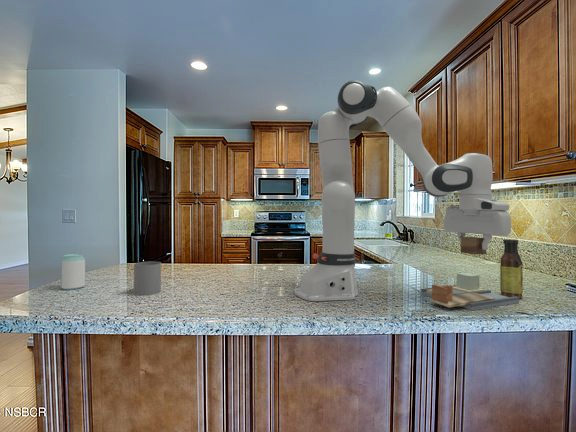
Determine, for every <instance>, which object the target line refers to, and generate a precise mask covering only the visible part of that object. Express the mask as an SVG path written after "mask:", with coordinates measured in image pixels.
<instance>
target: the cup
mask: <svg viewBox="0 0 576 432" xmlns="http://www.w3.org/2000/svg"><path fill="white" fill-rule="evenodd" d="M161 289H162V262H161V261H151V260H149V261H141V262H134V264H133V294H134V295H135V296H141V297H142V296H152V295H157V294H159V293H161V291H162V290H161Z"/></svg>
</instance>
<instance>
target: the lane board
mask: <svg viewBox="0 0 576 432" xmlns="http://www.w3.org/2000/svg"><path fill="white" fill-rule="evenodd" d="M451 286H453V293H452V295H459V294H467V293H477V294H481V295H485V296H489V297H493V298H495V300H488V301H481V302H474V303H469V305H463V306H459V307H460V308H463V309H466V310H470V311H475V310H483V308H484V309H489V307H490V308H495V307H494V306H496V307H500V306H501V305H502V306H506V305H507V304H508V305H514V303H515V304H520V298H519V297H516V296H515V297H506V296H502V295H501V294H497V293H494V292H492V290H491V289H486V290H485V289H484V288H480V287H479V289H478V290H470V291H469V290H465V289H461V288H458V287H457V284H454V285H451ZM420 295H422V296H426V297H429V298H432V287H428V288H421V289H420ZM508 305H507V306H508Z"/></svg>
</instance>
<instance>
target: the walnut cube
mask: <svg viewBox="0 0 576 432" xmlns="http://www.w3.org/2000/svg"><path fill="white" fill-rule="evenodd" d="M484 239H485V238H483V237H477V236H476V237H475V236H464V237H461V246H460V253H463V254H470V255H487V250H488V249H487V250H483V249H479V243H482V242H483V240H484Z"/></svg>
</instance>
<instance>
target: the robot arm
mask: <svg viewBox="0 0 576 432" xmlns="http://www.w3.org/2000/svg"><path fill="white" fill-rule="evenodd" d="M369 117H370V118H372V119H375V120H376V121H377V122H378V124H379V125H380V127H382V129H383V131H385V133H386V134H387V135H388V136H389V138H390V139H391V140H392V141H393V142H395V143H396V145H397V146H398V147H399V148H400V149H401V151H403V152H404V154H405V155H406V157H407V158H408V159H409V162H411V164H412V166H414V168H415V169H416V171H417V172H418V174H419V175H420V177H421V178H420V179H421V181H422V186H423V190H424V191H425V193H427V194H428V195H429V196H431V197H435V198H442V197H445V196H448V195H449V194H453V193H459V198H458V199H459V200H458V204H450V205H448V207H446V209H445V216H444V220H443V230H444V232H446V233H447V232H450V233H456V236H457V238H458V240H459V243H460V244H459V246H460V247H461V237H466V234H475V235H482V238H485V239H484V240H483V242H482V243H479V249H483V250H488V245H489V243H490V241H491V240H492V239H493V236H498V237H508V236H509V235H510V234H511V231H512V220H511V214H510V213H509V212H508V211H509V210H510V204H509V203H507V202H503V201H500V200H496V199H493V193H492V192H493V191H492V184H493V180H494V179H493V178H494V174H493V173H494V172H493V162H492V161H493V160H492V158H491V157H490V156H489V155H487V154H485V153H481V152H467V153H464V154H463V155H462V156H460V157H459V158H457V159H455V160H452V161H449V162H446V163H443V164H440V165H438V164H437V163H436V161H435V160H434V158H433V157H432V155H431V154H430V153H429V151H428V150H427V148H426V147H425V145H424V143H423V139H422V138H423V137H422V130H423V129H422V128H423V123H422V121H421V118H420V116H419V114H418V113H417V111H416V110H415V108H414V107H413V106H412V105H411V104H410V102H409V101H408V100H407V99H406V98H405V97H404V96H403V95H402V94H401V92H399V91H397V89H395V88H394V87H392V86H384V87H381V88H379V89H378V90H377V89H376V87H375V86H373V85H369V84H367V83H366V82H363V81H362V80H357V79H352V80H349V81H347V82H345V83H344V84H343V85H342V86H341V88H340V89H339V91H338V94H337V107H336V108H335V109H333V110H330V111H327V112H325V113H323V114H322V115H321V116H320V117H319V120H318V123H317V124H318V126H317V144H318V146H317V147H318V157H319V167H320V175H321V180H322V187H323V188H322V189H323V190H322V193H321V220H322V221H321V222H322V251H321V252H320V254H319V253H315V252H314V253H313V255H312V258H313V259H315V260H317V263H316V264H315V265H313V266H311V268H309V270H308V271H306V272H305V273H304V274H302V278H301V280H300V286H299V287H296V288H294V290H293V291H294V292H293V293H294V295H295V296H297V297H298V298H300V299H303V300H305V301H309V302H325V301H326V302H327V301H346V300H347V301H348V300H349V301H352V300H355V299H356V297H357V296H358V295H359V290H358V287H357V282H356V276H355V266H356V253H355V220H356V219H355V217H356V216H355V215H356V211H355V210H356V208H355V207H356V193H355V187H354V186H355V185H354V177H353V164H352V162H353V161H352V153H351V152H352V151H351V142H350V141H351V140H350V133H349V132H350V130H351V129H352V128H355V127H357V126H359V125H361V124H363V123H365V122H366V120H367V119H368V118H369Z"/></svg>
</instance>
